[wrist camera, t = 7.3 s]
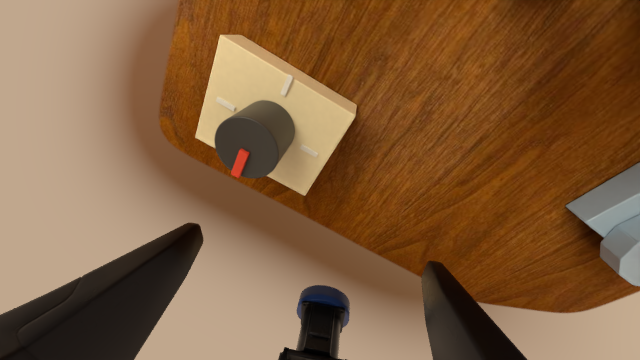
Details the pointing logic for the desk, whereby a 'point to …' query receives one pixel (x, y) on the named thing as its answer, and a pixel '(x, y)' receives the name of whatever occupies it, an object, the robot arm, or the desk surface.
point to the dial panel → (284, 89)
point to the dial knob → (254, 139)
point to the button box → (615, 221)
